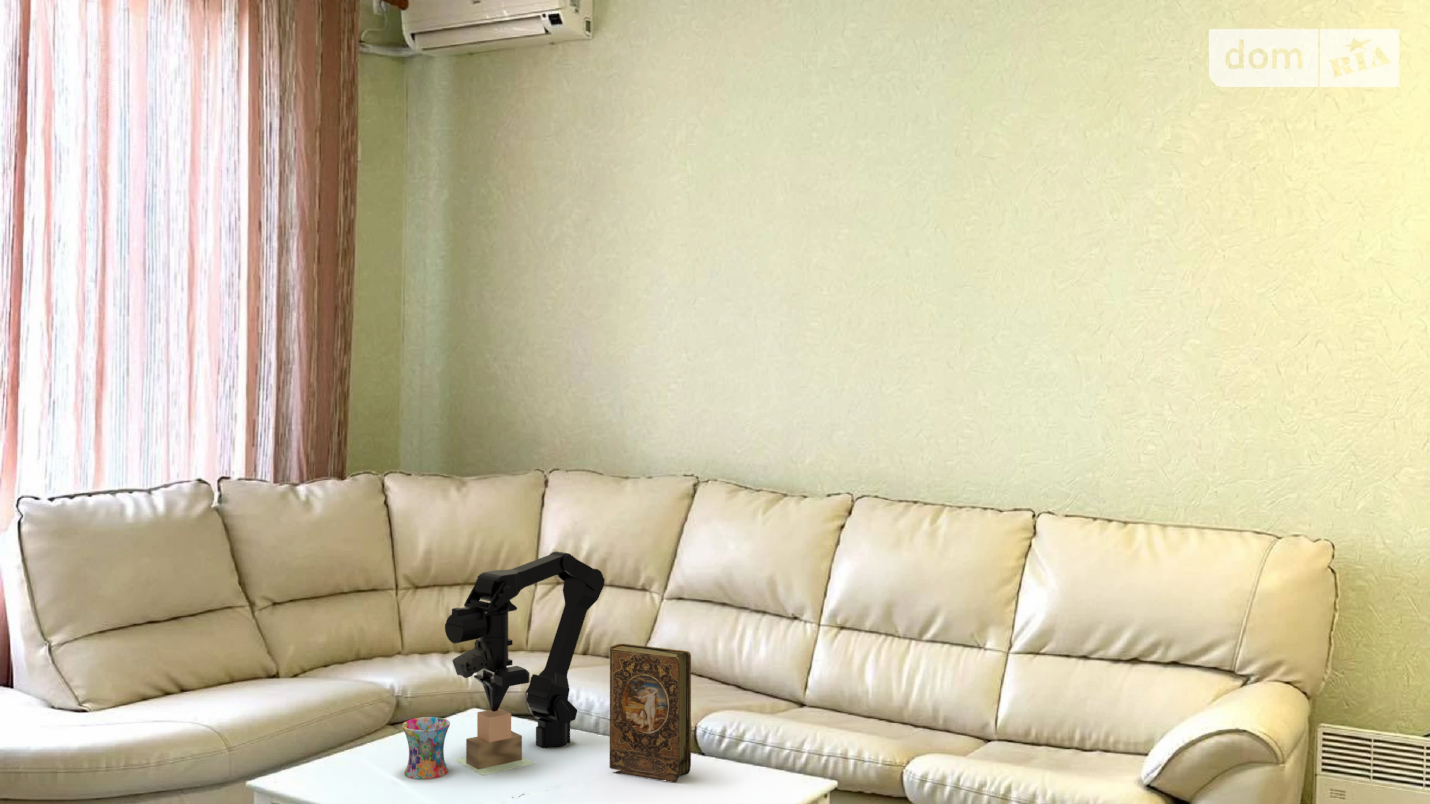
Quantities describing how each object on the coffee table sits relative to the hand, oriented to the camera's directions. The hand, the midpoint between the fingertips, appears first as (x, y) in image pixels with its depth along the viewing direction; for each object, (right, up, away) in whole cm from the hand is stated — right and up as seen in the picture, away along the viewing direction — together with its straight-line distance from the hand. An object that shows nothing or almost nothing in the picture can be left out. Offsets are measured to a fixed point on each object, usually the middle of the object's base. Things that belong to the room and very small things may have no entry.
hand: (494, 711), depth 268 cm
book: (+31, -12, -4) cm, 34 cm away
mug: (-12, -12, -5) cm, 17 cm away
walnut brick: (0, -10, +1) cm, 10 cm away
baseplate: (0, -11, +1) cm, 11 cm away
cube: (0, -5, 0) cm, 5 cm away
